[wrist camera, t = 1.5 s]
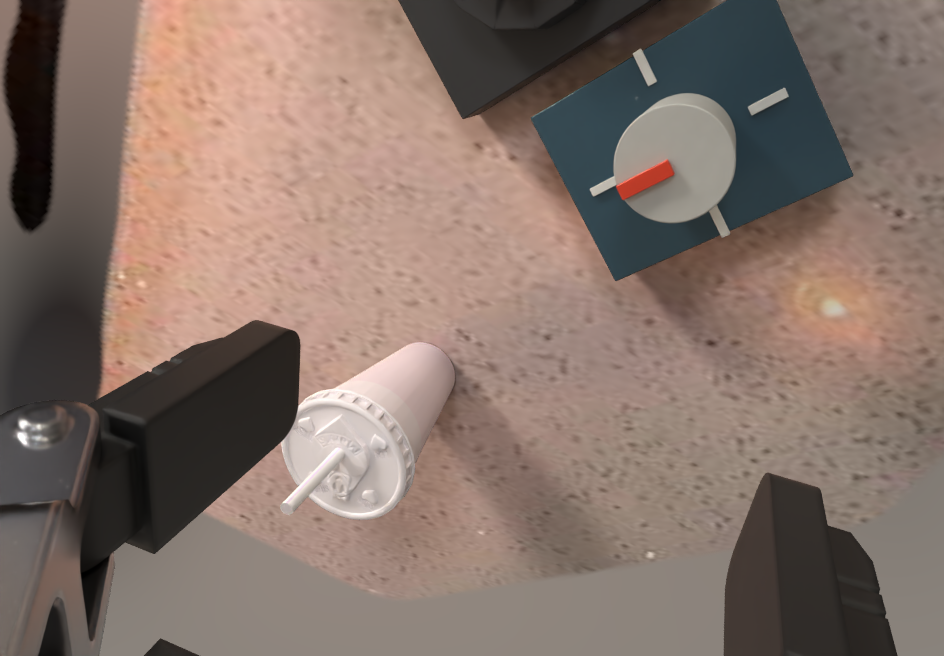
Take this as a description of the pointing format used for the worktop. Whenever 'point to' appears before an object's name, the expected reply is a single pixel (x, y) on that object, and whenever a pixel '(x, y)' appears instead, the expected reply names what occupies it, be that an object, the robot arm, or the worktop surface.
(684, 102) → the dial
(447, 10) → the orange push button panel
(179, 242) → the worktop surface
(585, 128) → the knob panel
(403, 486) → the smoothie
